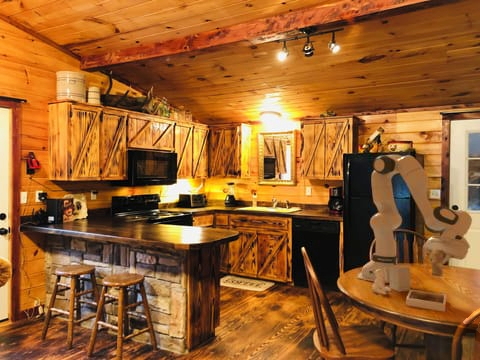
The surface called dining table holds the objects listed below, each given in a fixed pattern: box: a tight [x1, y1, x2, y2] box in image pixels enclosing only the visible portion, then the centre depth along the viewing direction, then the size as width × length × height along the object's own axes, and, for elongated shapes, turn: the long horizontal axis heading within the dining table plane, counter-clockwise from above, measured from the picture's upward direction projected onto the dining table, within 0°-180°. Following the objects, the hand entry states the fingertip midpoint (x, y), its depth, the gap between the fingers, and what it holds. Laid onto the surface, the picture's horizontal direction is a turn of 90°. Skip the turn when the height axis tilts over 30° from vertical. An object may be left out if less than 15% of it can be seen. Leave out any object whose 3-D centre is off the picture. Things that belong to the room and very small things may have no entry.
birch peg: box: [431, 249, 444, 277], centre depth 184 cm, size 4×4×12 cm
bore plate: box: [411, 292, 443, 303], centre depth 180 cm, size 13×13×2 cm
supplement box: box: [389, 264, 411, 293], centre depth 202 cm, size 7×7×13 cm
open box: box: [405, 289, 447, 312], centre depth 180 cm, size 16×16×4 cm
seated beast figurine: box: [371, 269, 392, 295], centre depth 198 cm, size 10×9×12 cm
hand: (436, 261), depth 184 cm, fingers closed on birch peg, 4 cm apart
